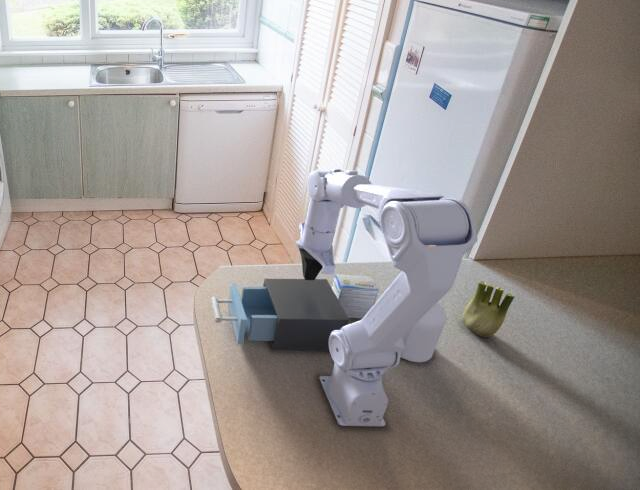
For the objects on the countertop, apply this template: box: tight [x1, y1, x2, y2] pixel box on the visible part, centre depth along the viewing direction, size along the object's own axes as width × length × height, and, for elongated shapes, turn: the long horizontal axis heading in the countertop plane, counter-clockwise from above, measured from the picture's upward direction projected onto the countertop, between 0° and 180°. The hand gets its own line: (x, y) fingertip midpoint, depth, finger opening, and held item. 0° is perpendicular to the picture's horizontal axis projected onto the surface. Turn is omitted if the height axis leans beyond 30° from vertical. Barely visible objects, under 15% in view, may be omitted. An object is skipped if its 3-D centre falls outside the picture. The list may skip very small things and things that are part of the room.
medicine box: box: [331, 274, 380, 320], centre depth 99 cm, size 8×4×9 cm, turn 84°
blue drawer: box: [210, 282, 278, 345], centre depth 95 cm, size 17×10×7 cm, turn 89°
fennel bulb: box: [461, 280, 516, 338], centre depth 94 cm, size 6×5×12 cm
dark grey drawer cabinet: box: [262, 278, 350, 352], centre depth 95 cm, size 14×12×9 cm
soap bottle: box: [400, 245, 448, 363], centre depth 88 cm, size 9×9×25 cm
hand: (308, 278), depth 96 cm, fingers closed
